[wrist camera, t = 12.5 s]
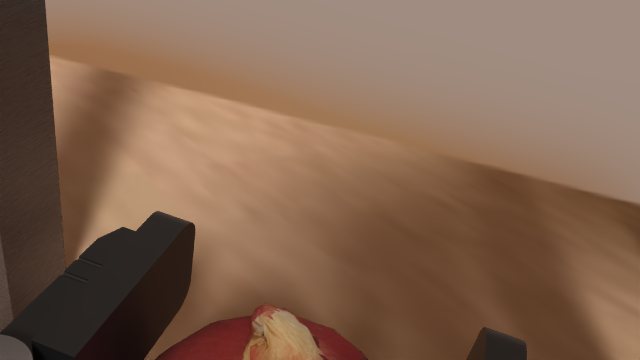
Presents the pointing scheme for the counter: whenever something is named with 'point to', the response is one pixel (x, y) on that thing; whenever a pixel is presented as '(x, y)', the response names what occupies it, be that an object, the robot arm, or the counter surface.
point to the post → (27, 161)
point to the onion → (264, 340)
